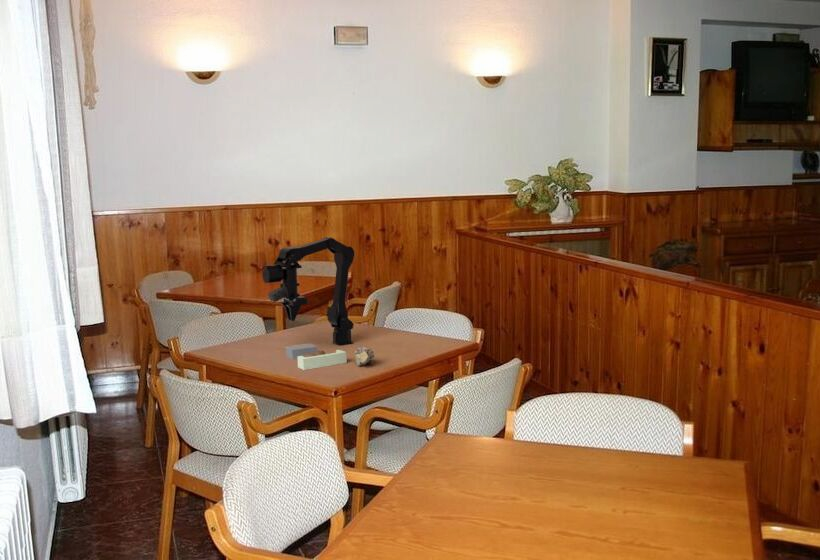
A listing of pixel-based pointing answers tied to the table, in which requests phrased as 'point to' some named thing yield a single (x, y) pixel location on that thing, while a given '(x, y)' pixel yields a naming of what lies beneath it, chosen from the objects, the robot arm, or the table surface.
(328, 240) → the robot arm
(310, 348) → the slab
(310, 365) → the board
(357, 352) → the rock
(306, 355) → the roller
